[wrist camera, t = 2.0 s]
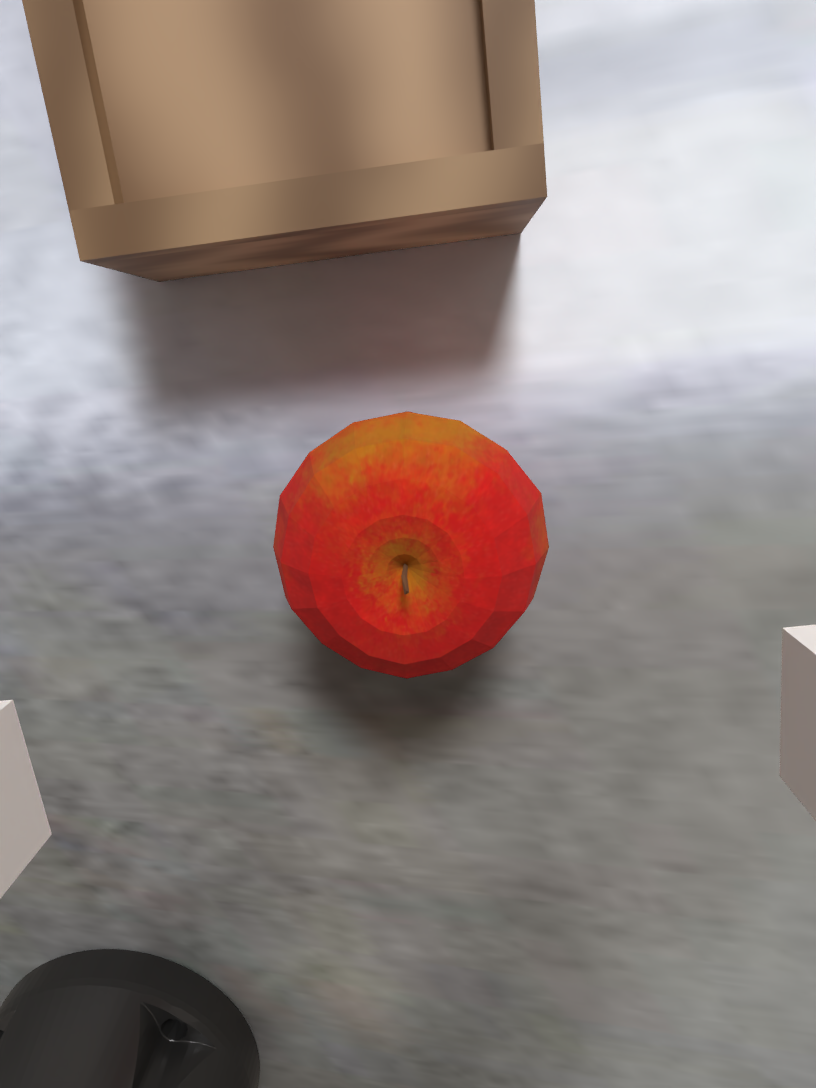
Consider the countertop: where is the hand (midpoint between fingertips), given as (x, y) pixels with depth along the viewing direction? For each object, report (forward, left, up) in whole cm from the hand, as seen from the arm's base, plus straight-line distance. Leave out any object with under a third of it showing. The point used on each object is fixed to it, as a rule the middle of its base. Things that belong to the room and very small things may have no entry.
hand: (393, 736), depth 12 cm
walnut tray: (-2, +18, -20) cm, 27 cm away
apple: (0, 0, -20) cm, 20 cm away
